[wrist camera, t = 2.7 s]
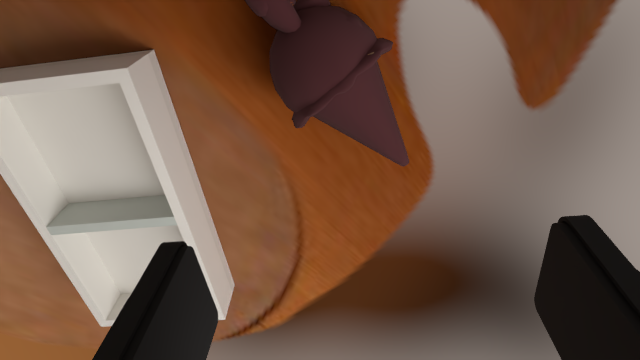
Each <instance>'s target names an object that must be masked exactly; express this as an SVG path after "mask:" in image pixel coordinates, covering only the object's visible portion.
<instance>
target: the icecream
mask: <svg viewBox="0 0 640 360" xmlns="http://www.w3.org/2000/svg"><path fill="white" fill-rule="evenodd" d="M245 1H246V3H247V4H248V6H249V7H250V8H251V10H252V11H253V12H254V13H255V14H256V15H257V16H261V17H262V18H263V19H264V20H265V21H266V22H267V23H268V24H269V25H270V26H272V27H273V28H275V29H277V30H278V31H277V33H276V34H275V37H274V40H273V43H272V46H271V49H270V51H269V52H270V73H271V76H272V80H273V83H274V86H275V90H276V91H277V93H278V94H279V96H280V97H281V99H282V100H283V102H284V103H285V105H286V106H287V107H288V108H289V109H291V110H292V111H293V112H294V114H293V117H292V120H293V123H294V126H295V127H296V128H302V127H303V126H304V125H305V124H306V122H307V121H308V119H309V118H310V117H312V116H313V117H315V118H317V119H319V120H320V121H322V122H324V123H326V124H328V125H329V126H331V127H333V128H335V129H337V130H338V131H340V132H342V133H344V134H345V135H347V136H349V137H351V138H353V139H354V140H356V141H358V142H360V143H362V144H363V145H365V146H367V147H369V148H370V149H372V150H374V151H376V152H378V153H379V154H381V155H383V156H385V157H386V158H388V159H390V160H392V161H393V162H395V163H397V164H399V165H401V166H406V165H407V164H408V163H409V159H408V155H407V152H406V149H405V146H404V143H403V140H402V137H401V134H400V131H399V128H398V125H397V121H396V118H395V115H394V112H393V109H392V106H391V103H390V100H389V97H388V93H387V90H386V87H385V84H384V81H383V78H382V75H381V72H380V69H379V65H378V62H377V60H378V59H379V57H380V55H382V54H384V53H386V52H388V51H390V50H391V48H392V44H393V42H392V41H390V40H386V39H384V38H379V39H378V38H376V36H375V34H374V32H373V30H372V29H371V28H370V27H369V26H367V25H366V24H365V23H364V22H363V21H362V20H361V19H360V18H359V17H358V16H357V15H355V14H353V13H351V12H349V11H347V10H345V9H343V8H341V7H337V6H331V5H330V4H331V3H330V2H329V0H298V1H297V2H296V0H245ZM293 5H294V6H293Z"/></svg>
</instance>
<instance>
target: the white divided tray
mask: <svg viewBox="0 0 640 360" xmlns="http://www.w3.org/2000/svg"><path fill="white" fill-rule="evenodd" d="M0 174H1V176H2V177H3V179H4V180H5V182H6V183H7V185H8V186H9V188H10V189H11V191H12V192H13V194H14V195H15V197H16V198H17V200H18V201H19V203H20V204H21V206H22V207H23V209H24V210H25V212H26V213H27V215H28V217H29V218H30V220H31V221H32V223H33V224H34V226H35V227H36V229H37V230H38V232H39V233H40V235H41V236H42V238H43V239H44V241H45V242H46V244H47V245H48V247H49V248H50V250H51V251H52V253H53V254H54V256H55V258H56V259H57V261H58V262H59V264H60V265H61V267H62V268H63V270H64V271H65V273H66V274H67V276H68V277H69V279H70V280H71V282H72V283H73V285H74V286H75V288H76V289H77V291H78V292H79V294H80V296H81V297H82V299H83V300H84V302H85V303H86V305H87V306H88V308H89V309H90V311H91V312H92V314H93V315H94V317H95V318H96V320H97V321H98V323H99V324H100V326H101V327H103V326H112V325H113V323H114V321H115V320H116V318H117V316H118V315H119V313H120V311H121V309H122V308H123V306H124V304H125V303H126V301H127V299H128V298H129V297H130V295H131V294H132V292H133V290H134V288H135V287H136V285H137V283H138V282H139V280H140V278H141V276H142V275H143V273H144V271H145V270H146V268H147V266H148V264H149V263H150V261H151V259H152V257H153V256H154V254H155V252H156V251H157V249H158V247H159V246H160V244H161V243H163V242H177V241H184V242H185V243H186V244H187V246H191V247H193V249H194V251H195V254H196V257H197V259H198V262H199V264H200V267H201V269H202V272H203V275H204V277H205V280H206V282H207V285H208V287H209V290H210V293H211V295H212V298H213V300H214V303H215V305H216V308H217V311H218V320H225V318H226V315H227V311H228V307H229V304H230V300H231V297H232V293H233V289H234V286H235V284H234V281H233V278H232V275H231V272H230V270H229V267H228V264H227V261H226V258H225V255H224V252H223V249H222V246H221V243H220V241H219V238H218V235H217V232H216V229H215V226H214V223H213V220H212V217H211V214H210V211H209V209H208V206H207V203H206V200H205V197H204V194H203V191H202V188H201V185H200V182H199V179H198V177H197V174H196V171H195V168H194V165H193V162H192V159H191V156H190V153H189V150H188V147H187V145H186V142H185V139H184V136H183V133H182V130H181V127H180V124H179V121H178V118H177V116H176V113H175V110H174V107H173V104H172V101H171V98H170V95H169V92H168V89H167V86H166V84H165V81H164V78H163V75H162V72H161V69H160V66H159V63H158V60H157V57H156V54H155V52H154V50H147V51H139V52H131V53H122V54H114V55H106V56H98V57H90V58H82V59H74V60H66V61H58V62H50V63H41V64H33V65H25V66H17V67H9V68H1V69H0Z"/></svg>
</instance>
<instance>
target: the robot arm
mask: <svg viewBox="0 0 640 360" xmlns="http://www.w3.org/2000/svg"><path fill="white" fill-rule="evenodd" d="M534 301H535V306H536V310H537V312H538V314H539V316H540V318H541V320H542V322H543V324H544V326H545V328H546V330H547V332H548V334H549V336H550V338H551V340H552V341H553V343H554V345H555V347H556V349H557V351H558V353H559V355H560V357H561V359H562V360H640V272H639V271H638V270H636V269H635V268H634V266H633V265H632V264H631V263H630V262H629V261H628V259H627V258H626V257H625V256H624V255H623V254H622V253H621V251H620V250H619V249H618V248H617V247H616V246H615V245H614V243H613V242H612V241H611V240H610V239H609V237H608V236H607V235H606V234H605V233H604V232H603V230H602V229H601V228H600V227H599V226H598V225H597V224H596V222H595V221H594V220H593V219H592V218H591V217H590V216H587V215H581V216H565V217H561V218H560V219H559V220H558V223H554V224H552V226H551V229H550V233H549V238H548V242H547V246H546V250H545V254H544V259H543V263H542V267H541V271H540V276H539V280H538V284H537V288H536V292H535V297H534ZM217 323H218V311H217V308H216V305H215V303H214V300H213V298H212V295H211V293H210V290H209V287H208V285H207V282H206V280H205V277H204V275H203V272H202V269H201V267H200V264H199V262H198V259H197V257H196V254H195V251H194V249H193V247H191V246H187V244H186V243H185V242H184V241H177V242H163V243H161V244H160V246H159V247H158V249H157V251H156V252H155V254H154V256H153V257H152V259H151V261H150V263H149V264H148V266H147V268H146V270H145V271H144V273H143V275H142V276H141V278H140V280H139V282H138V283H137V285H136V287H135V288H134V290H133V292H132V294H131V295H130V297H129V298H128V299H127V301H126V303H125V304H124V306H123V308H122V309H121V311H120V313H119V315H118V316H117V318H116V320H115V321H114V323H113V325H112V327H111V328H110V330H109V332H108V333H107V335H106V337H105V339H104V340H103V342H102V344H101V346H100V347H99V349H98V351H97V352H96V354H95V356H94V358H93V359H92V360H206V358H207V355H208V352H209V348H210V345H211V342H212V339H213V336H214V333H215V330H216V327H217Z"/></svg>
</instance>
